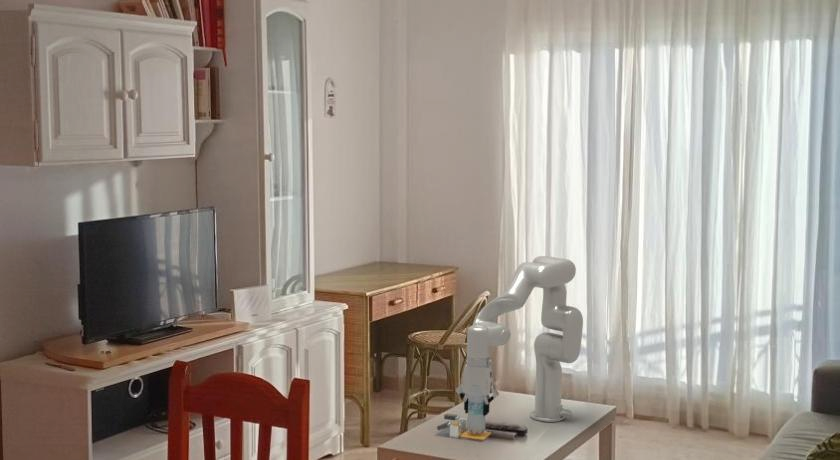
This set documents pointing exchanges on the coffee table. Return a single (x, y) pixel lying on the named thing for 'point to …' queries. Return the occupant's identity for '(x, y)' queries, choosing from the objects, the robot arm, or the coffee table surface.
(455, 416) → the lever
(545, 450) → the coffee table surface
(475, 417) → the bottle
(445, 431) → the panel
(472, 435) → the pad
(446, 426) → the lever
